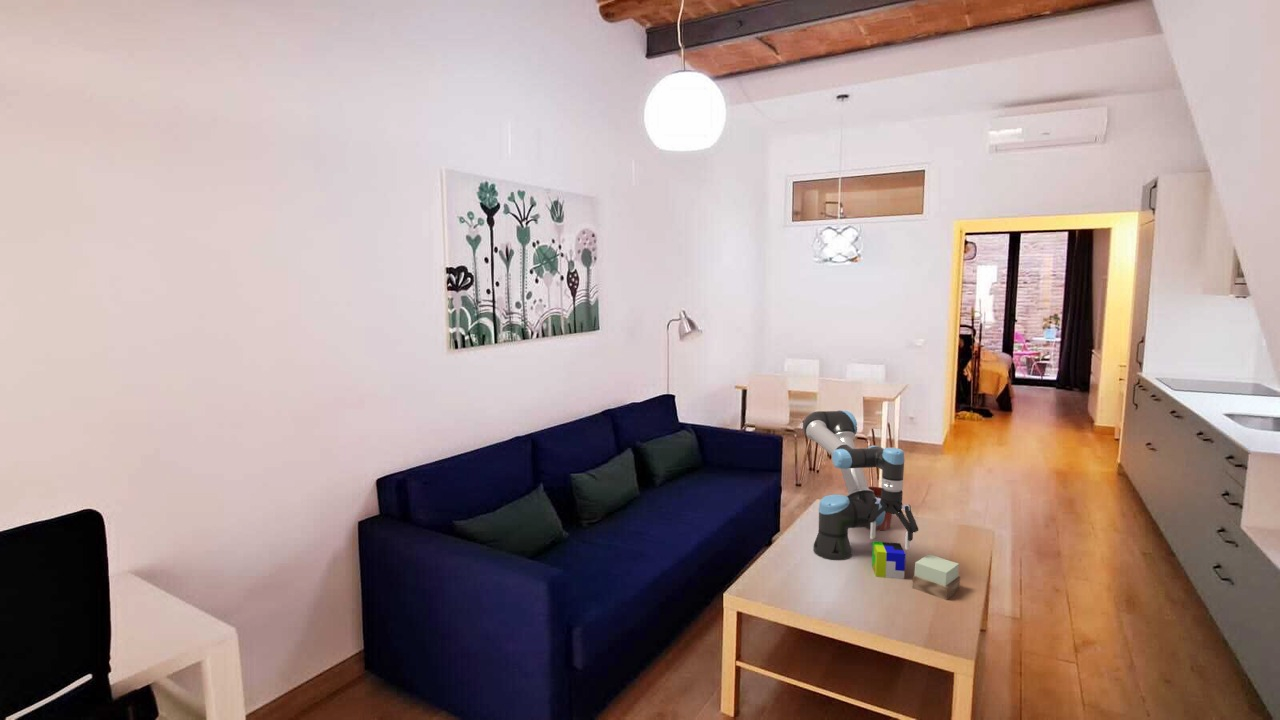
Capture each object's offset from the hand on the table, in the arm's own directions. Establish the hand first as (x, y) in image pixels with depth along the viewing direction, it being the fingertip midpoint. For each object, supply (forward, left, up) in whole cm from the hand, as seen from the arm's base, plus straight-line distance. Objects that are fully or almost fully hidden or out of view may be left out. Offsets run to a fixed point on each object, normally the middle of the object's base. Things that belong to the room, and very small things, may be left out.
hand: (889, 543), depth 241 cm
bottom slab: (+18, 0, -12) cm, 22 cm away
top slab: (+18, 0, -7) cm, 19 cm away
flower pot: (-25, +42, -12) cm, 51 cm away
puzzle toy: (0, 0, -12) cm, 12 cm away
